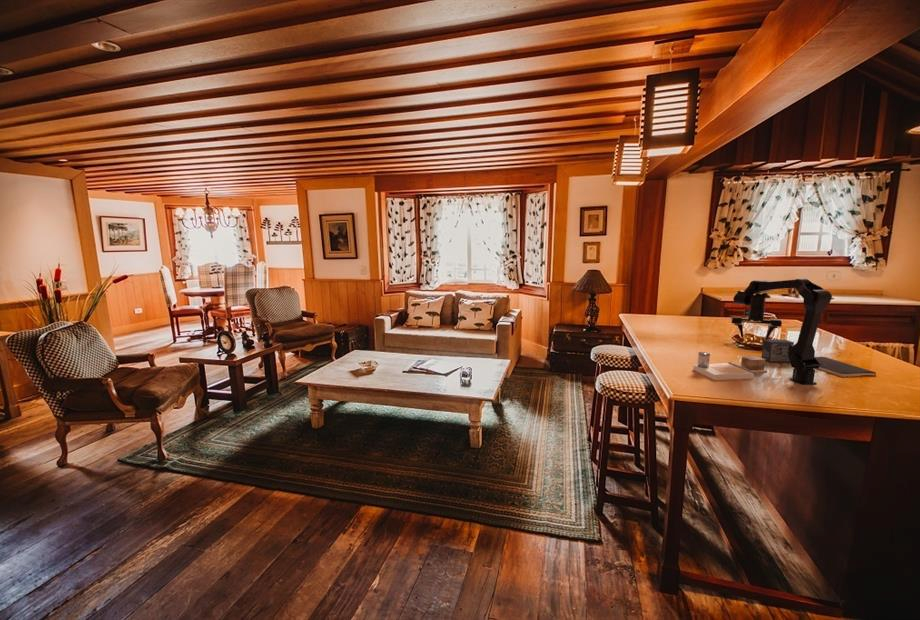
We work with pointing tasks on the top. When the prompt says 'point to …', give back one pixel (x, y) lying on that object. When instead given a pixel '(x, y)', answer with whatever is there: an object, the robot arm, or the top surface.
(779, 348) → the small box
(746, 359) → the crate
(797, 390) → the top surface
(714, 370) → the dock
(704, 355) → the canister
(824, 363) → the hardcover book
